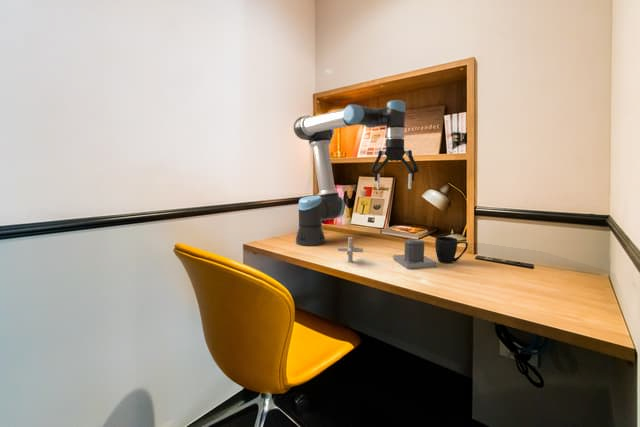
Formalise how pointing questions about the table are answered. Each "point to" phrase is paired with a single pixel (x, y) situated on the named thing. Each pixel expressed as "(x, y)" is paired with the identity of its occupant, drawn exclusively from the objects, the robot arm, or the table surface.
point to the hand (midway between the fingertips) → (393, 188)
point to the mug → (447, 249)
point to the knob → (414, 250)
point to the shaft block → (414, 262)
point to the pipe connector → (350, 249)
